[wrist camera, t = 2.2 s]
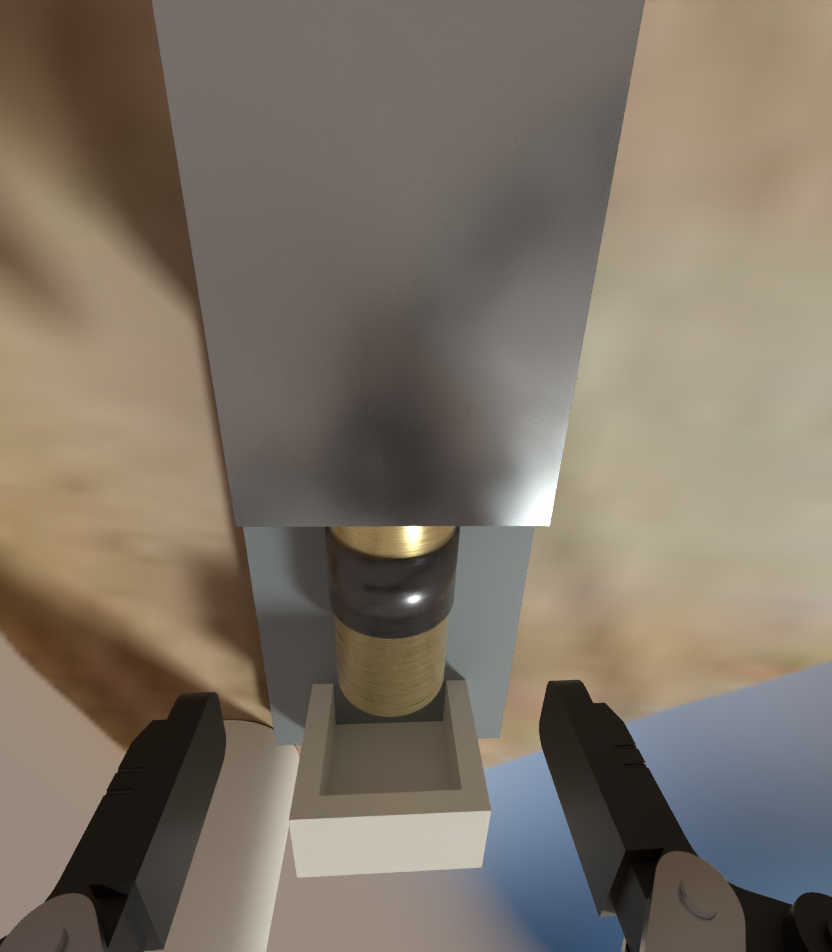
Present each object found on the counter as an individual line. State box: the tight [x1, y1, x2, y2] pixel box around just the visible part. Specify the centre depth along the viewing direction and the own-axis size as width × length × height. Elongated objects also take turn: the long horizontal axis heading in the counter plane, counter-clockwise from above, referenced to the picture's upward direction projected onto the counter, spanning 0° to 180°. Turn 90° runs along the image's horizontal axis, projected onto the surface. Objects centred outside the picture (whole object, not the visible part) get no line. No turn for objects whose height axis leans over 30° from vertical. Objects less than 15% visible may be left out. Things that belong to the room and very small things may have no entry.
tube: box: [325, 526, 460, 717], centre depth 15 cm, size 18×5×5 cm, turn 178°
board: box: [243, 526, 534, 746], centre depth 19 cm, size 28×12×2 cm, turn 178°
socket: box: [289, 680, 491, 877], centre depth 20 cm, size 4×8×6 cm, turn 88°
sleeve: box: [152, 0, 645, 527], centre depth 12 cm, size 10×8×7 cm
